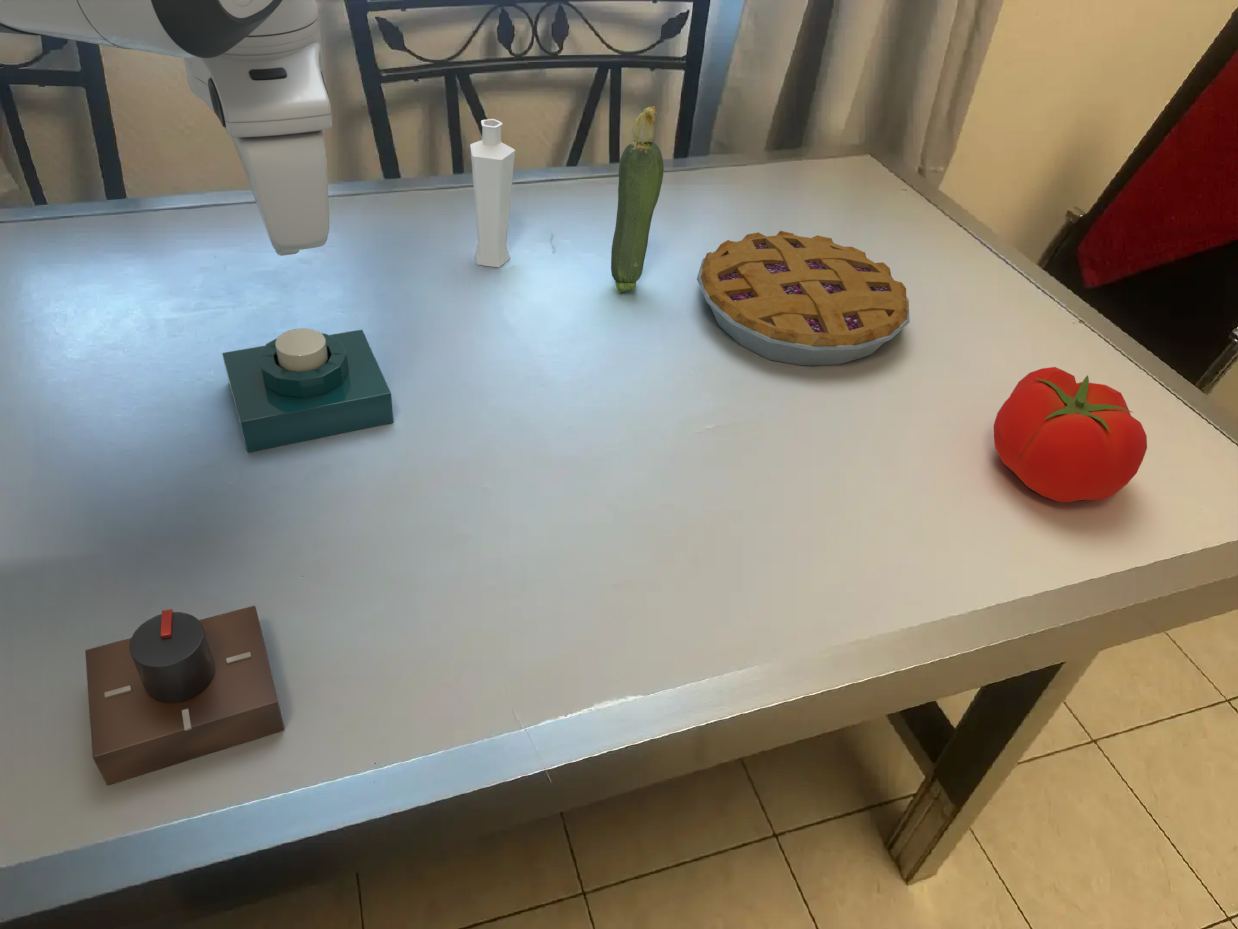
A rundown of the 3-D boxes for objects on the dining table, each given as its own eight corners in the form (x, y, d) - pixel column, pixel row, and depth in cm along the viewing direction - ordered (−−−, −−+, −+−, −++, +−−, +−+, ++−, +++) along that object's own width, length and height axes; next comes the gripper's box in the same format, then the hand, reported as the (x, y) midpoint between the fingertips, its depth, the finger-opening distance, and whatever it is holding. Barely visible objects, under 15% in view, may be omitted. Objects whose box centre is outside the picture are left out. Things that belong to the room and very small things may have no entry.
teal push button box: (247, 452, 77) (236, 404, 74) (228, 382, 84) (217, 334, 81) (393, 422, 82) (389, 375, 78) (365, 358, 88) (360, 312, 85)
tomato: (1152, 519, 81) (1201, 442, 75) (1018, 526, 79) (1058, 447, 73) (1076, 424, 90) (1115, 349, 85) (955, 428, 88) (986, 352, 82)
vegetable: (606, 277, 103) (622, 91, 90) (645, 278, 103) (668, 93, 90) (610, 299, 100) (628, 109, 86) (651, 300, 100) (675, 111, 87)
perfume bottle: (460, 256, 103) (457, 120, 94) (491, 244, 106) (491, 110, 96) (488, 273, 101) (488, 136, 91) (519, 261, 104) (522, 125, 94)
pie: (942, 360, 96) (958, 318, 93) (749, 390, 90) (759, 346, 86) (835, 253, 111) (845, 214, 108) (662, 273, 105) (668, 231, 101)
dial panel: (106, 787, 55) (91, 757, 53) (98, 677, 60) (84, 646, 58) (285, 731, 59) (277, 701, 57) (262, 632, 64) (254, 602, 62)
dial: (215, 695, 57) (202, 656, 54) (141, 709, 56) (125, 669, 53) (215, 642, 60) (203, 603, 57) (145, 654, 58) (130, 615, 56)
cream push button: (283, 376, 78) (279, 359, 77) (274, 349, 80) (270, 332, 79) (332, 367, 79) (330, 350, 78) (322, 341, 82) (320, 324, 81)
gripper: (185, 12, 69) (221, 190, 78) (228, 123, 56) (265, 322, 65) (275, 9, 72) (300, 182, 81) (336, 114, 58) (358, 307, 67)
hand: (285, 245), depth 73 cm, fingers closed
